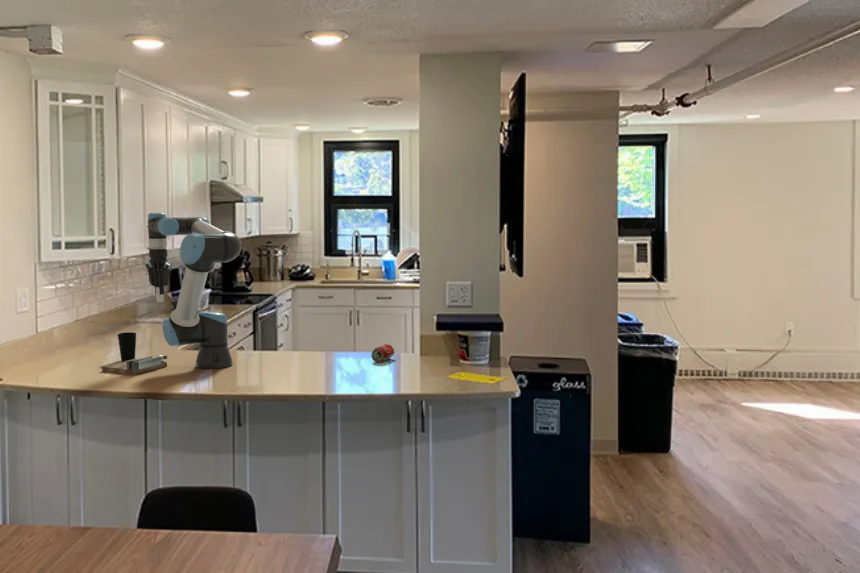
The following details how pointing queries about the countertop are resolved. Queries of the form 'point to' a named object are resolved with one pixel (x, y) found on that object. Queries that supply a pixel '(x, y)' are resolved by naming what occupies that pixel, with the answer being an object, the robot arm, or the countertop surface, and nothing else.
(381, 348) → the beverage can
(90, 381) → the countertop surface
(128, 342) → the cup
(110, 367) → the board
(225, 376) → the countertop surface
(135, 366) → the tongs fixed
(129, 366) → the tong arm
